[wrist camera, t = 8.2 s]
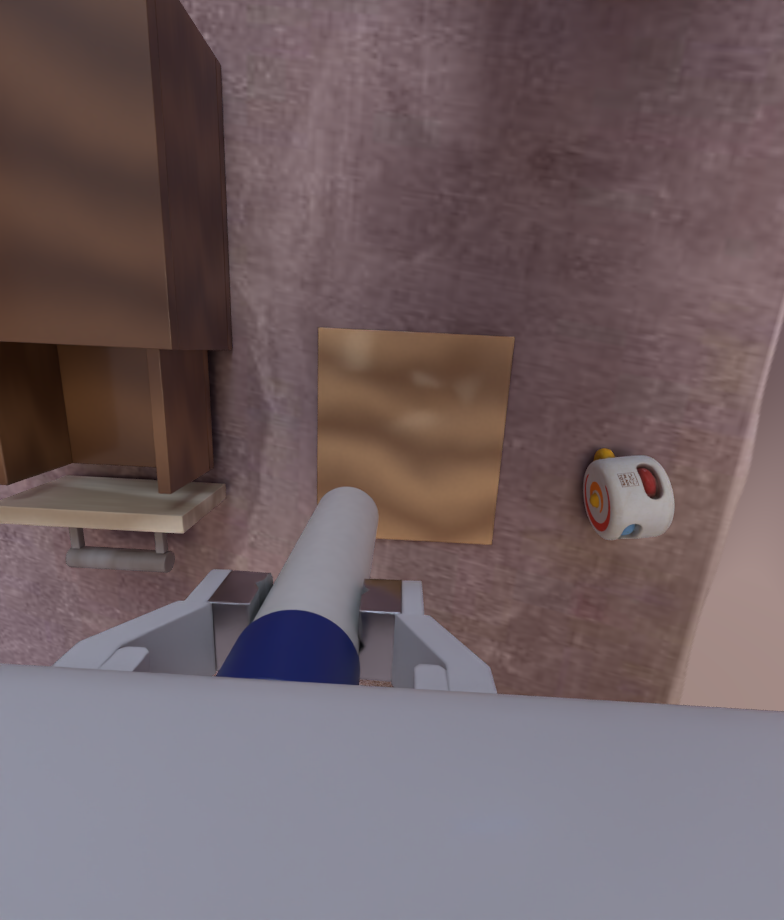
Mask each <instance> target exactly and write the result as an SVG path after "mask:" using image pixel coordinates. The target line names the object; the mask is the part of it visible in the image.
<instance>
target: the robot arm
mask: <svg viewBox="0 0 784 920" xmlns="http://www.w3.org/2000/svg"><path fill="white" fill-rule="evenodd" d="M272 586H273V577H272V575H271V573H263V572H250V571H237V570H234V571H233V570H224V569H214V570H211V571H210V572H209V573H208V575H207V576H206V577H205V578H204V579H203V580H202V581H201V583H200V584H199V585H198V586H197V587H196V588H195V589H194V590H193V592H192V593H191V594H190V595H189V596H188V597H187V598H186V599H185V601H176V602H174V603H171V604H169V605H167V606H164V607H162V608H159V609H157V610H154V611H152V612H150V613H147V614H145V615H142V616H140V617H137V618H135V619H133V620H130V621H128V622H125V623H123V624H120V625H118V626H116V627H113V628H111V629H108V630H106V631H104V632H101V633H99V634H96V635H94V636H91V637H89V638H87V639H84V640H82V641H79V642H78V643H77V644H76V645H75V646H73V647H72V648H71V649H70V650H69V651H68V652H67V653H66V654H64V655H63V656H62V657H61V658H60V659H59V660H58V661H57V662H55V663H54V664H53V665H52V666H36V665H20V664H3V663H0V920H784V711H768V710H754V709H738V708H721V707H705V706H687V705H673V704H657V703H640V702H624V701H608V700H592V699H575V698H559V697H543V696H526V695H510V694H497V691H496V687H495V684H494V680H493V676H492V672H491V669H490V667H489V666H488V665H487V664H486V663H485V662H483V661H482V660H481V659H480V658H479V657H478V656H476V655H475V654H474V653H473V652H472V651H471V650H469V649H468V648H467V647H466V646H465V645H464V644H462V643H461V642H460V641H459V640H458V639H457V638H455V637H454V636H453V635H452V634H451V633H450V632H448V631H447V630H446V629H445V628H444V627H443V626H441V625H440V624H439V623H438V622H437V621H436V620H434V619H433V618H432V617H431V616H429V615H424V603H423V591H422V582H421V581H412V580H387V579H364V583H363V594H362V595H361V601H360V607H359V619H358V638H359V639H360V647H359V654H358V656H359V661H360V679H366V680H377V681H389V682H391V684H392V685H393V687H379V686H363V685H346V684H330V683H314V682H297V681H281V680H265V679H248V678H232V677H216V676H212V675H214V674H215V673H216V671H219V670H220V668H221V666H222V665H223V663H224V661H225V660H226V658H227V656H228V654H229V653H230V651H231V649H232V647H233V646H234V644H235V642H236V640H237V639H238V637H239V635H240V634H241V633H242V631H243V630H244V629H245V628H246V627H247V626H248V625H249V624H251V623H252V622H253V620H254V618H255V617H256V615H257V613H258V611H259V609H260V608H261V606H262V604H263V602H264V600H265V599H266V597H267V595H268V593H269V591H270V590H271V588H272Z"/></svg>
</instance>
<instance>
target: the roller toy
mask: <svg viewBox="0 0 784 920" xmlns="http://www.w3.org/2000/svg"><path fill="white" fill-rule="evenodd" d="M583 497H584V504H585V509H586V512H587V516H588V518H589V521H590V523H591V525H592V527H593V528H594V530H595V531H596V532H597V533H598V534H599V535H600V536H601V537H602V538H604V539H606V540H615V539H638V538H648V537H657V536H659V535H661V534H663V533H664V532H665V531H666V530H667V529H668V528H669V526H670V524H671V522H672V519H673V515H674V495H673V490H672V486H671V483H670V480H669V478H668V476H667V474H666V472H665V470H664V469H663V467H662V466H661V465H660V464H659V463H658V462H657V461H656V460H655V459H653V458H651V457H649V456H645V455H636V456H624V457H615V456H614V454H613V452H612V451H611V450H609V449H605V448H602V449H599V450H598V451H597V452H596V454H595V456H594V461H593V462H592V463H591V464H590V465H589V466H588V468H587V470H586V472H585V476H584V482H583Z"/></svg>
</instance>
